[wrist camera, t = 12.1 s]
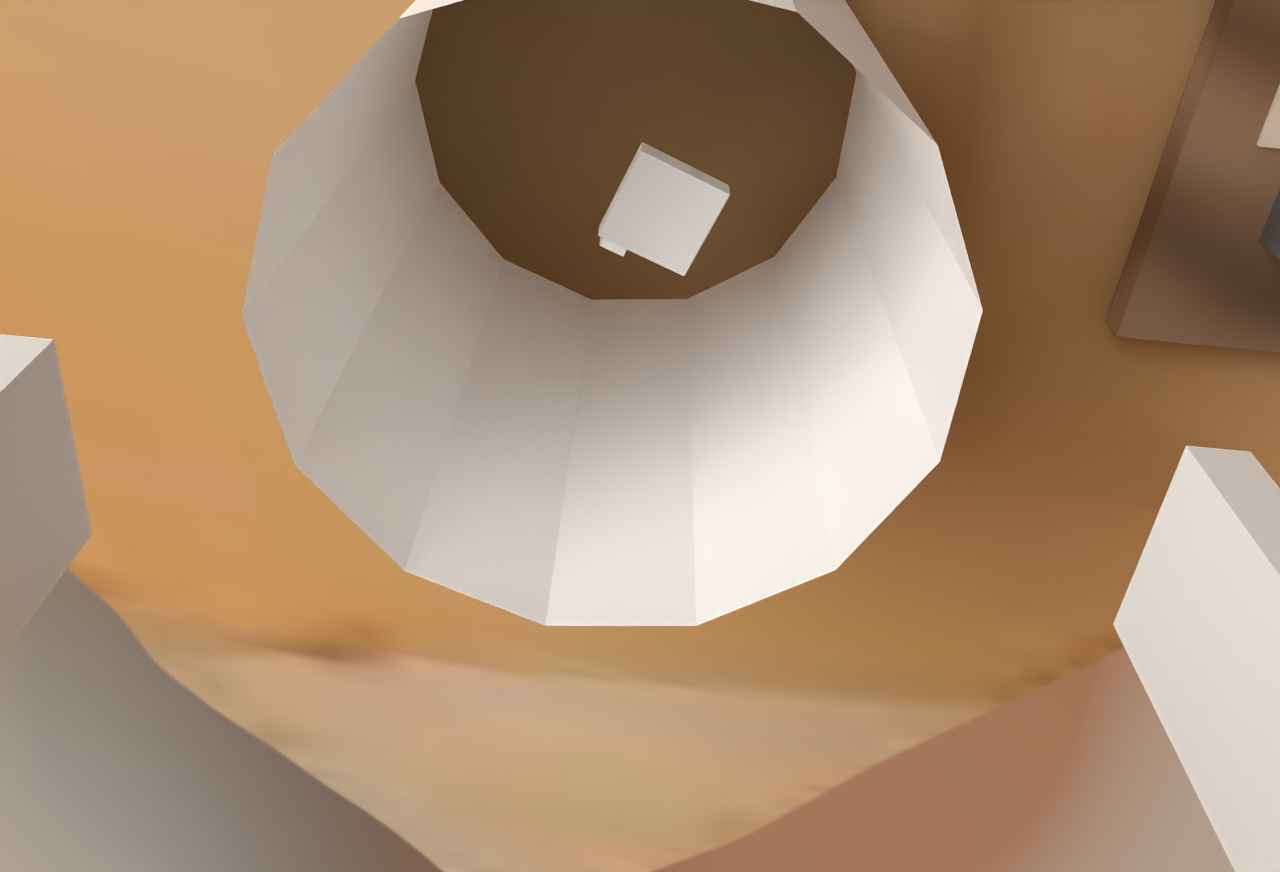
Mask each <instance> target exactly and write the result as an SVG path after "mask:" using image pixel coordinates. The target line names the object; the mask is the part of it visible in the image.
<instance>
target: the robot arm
mask: <svg viewBox="0 0 1280 872" xmlns="http://www.w3.org/2000/svg"><path fill="white" fill-rule="evenodd" d="M91 534H92V531H91V526H90V521H89V516H88V511H87V506H86V501H85V495H84V490H83V485H82V480H81V475H80V470H79V465H78V460H77V455H76V450H75V445H74V439H73V434H72V429H71V424H70V419H69V414H68V409H67V404H66V399H65V394H64V388H63V383H62V378H61V373H60V368H59V363H58V358H57V353H56V348H55V343H54V339H45V338H35V337H24V336H13V335H3V334H0V660H1V659H2V658H3V656H4V655H5V653H6V652H7V651H8V649H9V648H10V647H11V645H12V644H13V642H14V641H15V639H16V638H17V637H18V635H19V634H20V633H21V631H22V630H23V628H24V627H25V625H26V624H27V623H28V622H29V620H30V619H31V617H32V616H33V615H34V613H35V612H36V610H37V609H38V608H39V606H40V605H41V603H42V602H43V601H44V599H45V598H46V596H47V595H48V594H49V592H50V591H51V590H52V588H53V586H54V585H55V584H56V582H57V581H58V580H59V579H60V577H61V575H62V574H63V573H64V572H65V570H66V569H67V567H68V566H69V565H70V563H71V562H72V560H73V559H74V558H75V556H76V555H77V554H78V552H79V551H80V549H81V548H82V547H83V545H84V544H85V542H86V541H87V540H88V538H89V537H90V536H91ZM1113 625H1114V627H1115V629H1116V631H1117V633H1118V635H1119V637H1120V639H1121V641H1122V644H1123V646H1124V648H1125V650H1126V652H1127V654H1128V656H1129V658H1130V660H1131V662H1132V664H1133V666H1134V668H1135V670H1136V672H1137V674H1138V676H1139V678H1140V680H1141V682H1142V684H1143V686H1144V688H1145V690H1146V692H1147V694H1148V696H1149V698H1150V700H1151V702H1152V704H1153V706H1154V709H1155V710H1156V713H1157V714H1158V717H1159V719H1160V721H1161V723H1162V725H1163V727H1164V729H1165V731H1166V733H1167V735H1168V737H1169V739H1170V741H1171V743H1172V745H1173V747H1174V749H1175V751H1176V753H1177V755H1178V757H1179V759H1180V761H1181V763H1182V765H1183V767H1184V769H1185V771H1186V773H1187V776H1188V778H1189V780H1190V782H1191V784H1192V786H1193V788H1194V790H1195V792H1196V794H1197V796H1198V798H1199V800H1200V802H1201V804H1202V806H1203V808H1204V810H1205V812H1206V814H1207V816H1208V818H1209V820H1210V822H1211V824H1212V826H1213V828H1214V830H1215V832H1216V834H1217V836H1218V838H1219V840H1220V842H1221V845H1222V846H1223V848H1224V851H1225V853H1226V855H1227V857H1228V859H1229V861H1230V863H1231V865H1232V867H1233V869H1234V871H1235V872H1280V488H1279V487H1278V486H1277V484H1276V483H1275V482H1274V481H1273V479H1272V478H1271V477H1270V476H1269V474H1268V473H1267V472H1266V471H1265V469H1264V468H1263V467H1262V466H1261V464H1260V463H1259V462H1258V461H1257V459H1256V458H1255V457H1254V456H1253V454H1252V453H1251V452H1250V451H1239V450H1228V449H1218V448H1207V447H1196V446H1186V447H1185V450H1184V452H1183V455H1182V457H1181V460H1180V462H1179V464H1178V467H1177V469H1176V472H1175V474H1174V477H1173V479H1172V482H1171V484H1170V486H1169V489H1168V491H1167V494H1166V496H1165V499H1164V501H1163V504H1162V506H1161V509H1160V511H1159V513H1158V516H1157V518H1156V521H1155V523H1154V526H1153V528H1152V531H1151V533H1150V535H1149V538H1148V540H1147V543H1146V545H1145V548H1144V550H1143V553H1142V555H1141V557H1140V560H1139V562H1138V565H1137V567H1136V570H1135V572H1134V575H1133V577H1132V579H1131V582H1130V584H1129V587H1128V589H1127V592H1126V594H1125V597H1124V599H1123V601H1122V604H1121V606H1120V609H1119V611H1118V614H1117V616H1116V619H1115V621H1114V623H1113Z"/></svg>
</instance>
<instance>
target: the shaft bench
mask: <svg viewBox="0 0 1280 872" xmlns="http://www.w3.org/2000/svg"><path fill="white" fill-rule="evenodd" d="M1106 323H1107V325H1108V326H1109V328H1110V329H1111V330H1112V332H1113V333H1114V334H1115V336H1116V337H1122V338H1132V339H1142V340H1153V341H1163V342H1173V343H1183V344H1194V345H1204V346H1214V347H1225V348H1235V349H1245V350H1256V351H1266V352H1276V353H1280V0H1216V1H1215V4H1214V7H1213V10H1212V13H1211V16H1210V19H1209V22H1208V24H1207V27H1206V30H1205V33H1204V36H1203V39H1202V42H1201V45H1200V48H1199V51H1198V54H1197V57H1196V59H1195V62H1194V65H1193V68H1192V71H1191V74H1190V77H1189V80H1188V83H1187V86H1186V89H1185V92H1184V95H1183V97H1182V100H1181V103H1180V106H1179V109H1178V112H1177V115H1176V118H1175V121H1174V124H1173V127H1172V130H1171V132H1170V135H1169V138H1168V141H1167V144H1166V147H1165V150H1164V153H1163V156H1162V159H1161V162H1160V165H1159V168H1158V170H1157V173H1156V176H1155V179H1154V182H1153V185H1152V188H1151V191H1150V194H1149V197H1148V200H1147V203H1146V205H1145V208H1144V211H1143V214H1142V217H1141V220H1140V223H1139V226H1138V229H1137V232H1136V235H1135V238H1134V240H1133V243H1132V246H1131V249H1130V252H1129V255H1128V258H1127V261H1126V264H1125V267H1124V270H1123V273H1122V276H1121V278H1120V281H1119V284H1118V287H1117V290H1116V293H1115V296H1114V299H1113V302H1112V305H1111V308H1110V311H1109V313H1108V316H1107V319H1106Z"/></svg>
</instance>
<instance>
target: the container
mask: <svg viewBox="0 0 1280 872" xmlns="http://www.w3.org/2000/svg"><path fill="white" fill-rule="evenodd" d="M459 1H462V0H416V1H415V2H414V3H413V4H412V5H411V6H410V7H409V8H408V9H407V10H406V11H405V12H404V13H403V14H402V15H401V16H400V17H399V19H398V20H397V21H396V22H395V23H394V24H393V25H392V26H391V27H390V28H389V29H388V30H387V31H386V33H385V34H384V35H383V36H382V37H381V38H380V39H379V40H378V41H377V42H376V43H375V44H374V45H373V46H372V48H371V49H370V50H369V51H368V52H367V53H366V54H365V55H364V56H363V57H362V58H361V59H360V60H359V61H358V63H357V64H356V65H355V66H354V67H353V68H352V69H351V70H350V71H349V72H348V73H347V74H346V75H345V77H344V78H343V79H342V80H341V81H340V82H339V83H338V84H337V85H336V86H335V87H334V88H333V89H332V90H331V92H330V93H329V94H328V95H327V96H326V97H325V98H324V99H323V100H322V101H321V102H320V103H319V104H318V106H317V107H316V108H315V109H314V110H313V111H312V112H311V113H310V114H309V115H308V116H307V117H306V118H305V119H304V121H303V122H302V123H301V124H300V125H299V126H298V127H297V128H296V129H295V130H294V131H293V132H292V133H291V134H290V136H289V137H288V138H287V139H286V140H285V141H284V142H283V143H282V144H281V145H280V146H279V147H278V148H277V150H276V151H275V152H274V153H273V154H272V159H271V164H270V169H269V175H268V180H267V185H266V190H265V196H264V201H263V206H262V212H261V217H260V222H259V228H258V233H257V238H256V244H255V249H254V254H253V259H252V265H251V270H250V275H249V281H248V286H247V291H246V297H245V302H244V307H243V313H242V320H243V322H244V325H245V328H246V331H247V334H248V336H249V339H250V342H251V345H252V348H253V350H254V353H255V356H256V359H257V362H258V364H259V367H260V370H261V373H262V375H263V378H264V381H265V384H266V387H267V389H268V392H269V395H270V398H271V401H272V403H273V406H274V409H275V412H276V415H277V417H278V420H279V423H280V426H281V429H282V431H283V434H284V437H285V440H286V443H287V445H288V448H289V451H290V454H291V457H292V459H293V462H294V465H295V466H296V467H297V468H299V469H300V470H301V471H302V472H303V473H304V474H305V475H306V476H307V477H308V478H309V479H310V480H311V481H312V482H313V483H314V484H315V485H316V486H317V487H318V488H319V489H320V490H321V491H322V492H323V493H324V494H325V495H326V496H327V497H328V498H329V499H331V500H332V501H333V502H334V503H335V504H336V505H337V506H338V507H339V508H340V509H341V510H342V511H343V512H344V513H345V514H346V515H347V516H348V517H349V518H350V519H351V520H352V521H353V522H354V523H355V524H356V525H357V526H358V527H359V528H360V529H362V530H363V531H364V532H365V533H366V534H367V535H368V536H369V537H370V538H371V539H372V540H373V541H374V542H375V543H376V544H377V545H378V546H379V547H380V548H381V549H382V550H383V551H384V552H385V553H386V554H387V555H388V556H389V557H390V558H391V559H393V560H394V561H395V562H396V563H397V564H398V565H399V566H400V567H401V568H402V569H403V570H404V571H406V572H408V573H411V574H414V575H416V576H419V577H421V578H424V579H426V580H429V581H432V582H434V583H437V584H439V585H442V586H444V587H447V588H450V589H452V590H455V591H457V592H460V593H462V594H465V595H468V596H470V597H473V598H475V599H478V600H480V601H483V602H486V603H488V604H491V605H493V606H496V607H498V608H501V609H504V610H506V611H509V612H511V613H514V614H516V615H519V616H522V617H524V618H527V619H529V620H532V621H534V622H537V623H540V624H542V625H545V626H697V625H699V624H702V623H704V622H707V621H709V620H712V619H714V618H717V617H719V616H722V615H724V614H727V613H729V612H732V611H734V610H737V609H739V608H742V607H744V606H747V605H749V604H752V603H754V602H757V601H759V600H762V599H764V598H767V597H769V596H772V595H774V594H777V593H779V592H782V591H784V590H787V589H789V588H792V587H794V586H797V585H799V584H802V583H804V582H807V581H809V580H812V579H814V578H817V577H819V576H822V575H824V574H827V573H829V572H832V571H834V570H836V569H837V568H838V567H839V566H840V565H841V564H842V563H843V562H844V561H845V560H846V559H847V558H848V557H849V555H850V554H851V553H852V552H853V551H854V550H855V549H856V548H857V547H858V546H859V545H860V544H861V543H862V542H863V541H864V540H865V539H866V538H867V537H868V536H869V535H870V534H871V533H872V532H873V531H874V529H875V528H876V527H877V526H878V525H879V524H880V523H881V522H882V521H883V520H884V519H885V518H886V517H887V516H888V515H889V514H890V513H891V512H892V511H893V510H894V509H895V508H896V507H897V506H898V505H899V504H900V502H901V501H902V500H903V499H904V498H905V497H906V496H907V495H908V494H909V493H910V492H911V491H912V490H913V489H914V488H915V487H916V486H917V485H918V484H919V483H920V482H921V481H922V480H923V479H924V478H925V477H926V475H927V474H928V473H929V472H930V471H931V470H932V469H933V468H934V467H935V466H936V465H937V464H938V463H939V462H940V460H941V456H942V453H943V449H944V446H945V442H946V439H947V435H948V432H949V428H950V425H951V421H952V418H953V414H954V410H955V407H956V403H957V400H958V396H959V393H960V389H961V386H962V382H963V379H964V375H965V372H966V368H967V365H968V361H969V358H970V354H971V351H972V347H973V343H974V340H975V336H976V333H977V329H978V326H979V322H980V319H981V315H982V312H983V309H982V306H981V302H980V298H979V295H978V291H977V287H976V284H975V280H974V276H973V273H972V269H971V265H970V262H969V258H968V254H967V251H966V247H965V243H964V240H963V236H962V232H961V229H960V225H959V221H958V218H957V214H956V210H955V207H954V203H953V199H952V196H951V192H950V188H949V185H948V181H947V177H946V174H945V170H944V166H943V163H942V159H941V155H940V152H939V148H938V145H937V143H936V142H935V140H934V139H933V137H932V135H931V134H930V132H929V131H928V129H927V128H926V126H925V124H924V123H923V121H922V120H921V118H920V117H919V115H918V113H917V112H916V110H915V109H914V107H913V106H912V104H911V103H910V101H909V99H908V98H907V96H906V95H905V93H904V92H903V90H902V88H901V87H900V85H899V84H898V82H897V81H896V79H895V77H894V76H893V74H892V73H891V71H890V70H889V68H888V67H887V65H886V63H885V62H884V60H883V59H882V57H881V56H880V54H879V52H878V51H877V49H876V48H875V46H874V45H873V43H872V42H871V40H870V38H869V37H868V35H867V34H866V32H865V31H864V29H863V27H862V26H861V24H860V23H859V21H858V20H857V18H856V16H855V15H854V13H853V12H852V10H851V9H850V7H849V6H848V4H847V2H846V1H845V0H750V1H754V2H758V3H762V4H767V5H771V6H775V7H779V8H783V9H787V10H791V11H795V12H798V13H799V14H800V15H801V16H802V17H803V18H804V19H805V20H806V21H807V22H808V23H809V24H811V25H812V26H813V27H814V28H815V29H816V30H817V31H818V32H819V33H820V34H821V35H822V36H823V37H824V38H825V39H826V40H827V41H828V42H830V43H831V44H832V45H833V46H834V47H835V48H836V49H837V50H838V51H839V52H840V53H841V54H842V55H843V56H844V57H845V58H846V59H847V60H848V61H850V62H851V63H852V64H853V65H854V68H855V71H856V79H855V84H854V89H853V94H852V99H851V104H850V109H849V114H848V119H847V125H846V130H845V135H844V140H843V145H842V150H841V155H840V160H839V165H838V170H837V176H836V178H835V179H834V181H833V182H832V183H831V185H830V186H829V187H828V188H827V190H826V191H825V192H824V194H823V195H822V196H821V197H820V199H819V200H818V201H817V203H816V204H815V205H814V206H813V208H812V209H811V210H810V212H809V213H808V214H807V215H806V217H805V218H804V219H803V221H802V222H801V223H800V224H799V226H798V227H797V228H796V230H795V231H794V232H793V233H792V235H791V236H790V237H789V239H788V240H787V241H786V242H785V244H784V245H783V246H782V248H781V249H780V250H779V251H778V253H777V254H776V255H775V256H774V257H772V258H770V259H768V260H766V261H764V262H762V263H760V264H758V265H756V266H754V267H752V268H750V269H748V270H746V271H744V272H742V273H740V274H738V275H735V276H733V277H731V278H729V279H727V280H725V281H723V282H721V283H719V284H717V285H715V286H713V287H711V288H709V289H707V290H705V291H703V292H701V293H699V294H697V295H695V296H692V297H690V298H688V299H625V300H591V299H589V298H587V297H585V296H582V295H580V294H578V293H576V292H574V291H572V290H569V289H567V288H565V287H563V286H561V285H559V284H556V283H554V282H552V281H550V280H548V279H545V278H543V277H541V276H539V275H537V274H535V273H532V272H530V271H528V270H526V269H524V268H522V267H519V266H517V265H515V264H513V263H511V262H509V261H506V260H504V259H503V258H502V257H501V255H500V254H499V253H498V252H497V251H496V249H495V248H494V247H493V246H492V245H491V243H490V242H489V241H488V240H487V239H486V237H485V236H484V235H483V234H482V233H481V231H480V230H479V229H478V228H477V227H476V225H475V224H474V223H473V222H472V221H471V219H470V218H469V217H468V216H467V215H466V213H465V212H464V211H463V210H462V209H461V207H460V206H459V205H458V204H457V203H456V201H455V200H454V199H453V198H452V197H451V195H450V194H449V193H448V192H447V191H446V189H445V188H444V187H443V186H442V185H441V183H440V182H439V178H438V174H437V170H436V165H435V161H434V157H433V153H432V149H431V145H430V141H429V137H428V132H427V128H426V124H425V120H424V116H423V112H422V108H421V104H420V99H419V95H418V91H417V87H416V83H415V79H416V75H417V71H418V67H419V63H420V59H421V55H422V51H423V47H424V43H425V39H426V35H427V31H428V27H429V22H430V18H431V14H432V10H433V9H434V8H438V7H441V6H445V5H448V4H452V3H455V2H459ZM729 196H730V191H729V185H727V184H725V183H723V182H721V181H719V180H717V179H715V178H713V177H711V176H709V175H707V174H705V173H703V172H701V171H699V170H697V169H695V168H693V167H691V166H689V165H687V164H685V163H683V162H681V161H679V160H677V159H675V158H673V157H671V156H669V155H667V154H665V153H663V152H661V151H659V150H657V149H655V148H653V147H651V146H649V145H647V144H645V143H643V142H642V143H641V145H640V147H639V149H638V151H637V153H636V155H635V156H634V158H633V160H632V162H631V164H630V166H629V168H628V170H627V172H626V174H625V176H624V178H623V180H622V182H621V184H620V186H619V188H618V190H617V192H616V194H615V196H614V198H613V200H612V202H611V204H610V206H609V208H608V210H607V212H606V214H605V216H604V218H603V220H602V221H601V223H600V226H599V232H598V236H600V237H601V238H600V245H599V246H601V247H604V248H606V249H608V250H610V251H612V252H614V253H616V254H618V255H620V256H624V254H625V252H626V250H629V251H632V252H634V253H636V254H638V255H640V256H642V257H644V258H646V259H648V260H651V261H653V262H655V263H657V264H659V265H661V266H663V267H665V268H667V269H670V270H672V271H674V272H676V273H678V274H680V275H682V276H684V275H685V274H686V272H687V270H688V268H689V267H690V265H691V263H692V261H693V259H694V258H695V256H696V254H697V252H698V251H699V249H700V247H701V245H702V243H703V242H704V240H705V238H706V236H707V235H708V233H709V231H710V229H711V228H712V226H713V224H714V222H715V220H716V219H717V217H718V215H719V213H720V212H721V210H722V208H723V206H724V204H725V203H726V201H727V199H728V197H729Z"/></svg>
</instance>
